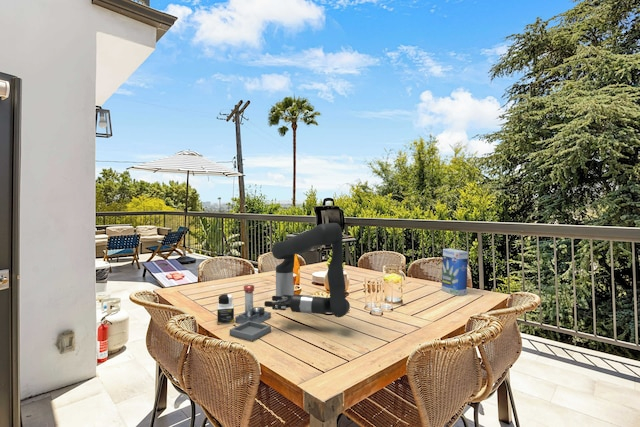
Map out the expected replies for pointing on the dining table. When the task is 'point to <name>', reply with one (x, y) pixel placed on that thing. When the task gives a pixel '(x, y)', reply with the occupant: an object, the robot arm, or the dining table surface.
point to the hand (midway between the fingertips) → (268, 300)
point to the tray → (250, 330)
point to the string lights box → (454, 271)
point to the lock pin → (249, 300)
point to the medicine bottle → (225, 309)
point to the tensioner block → (254, 316)
